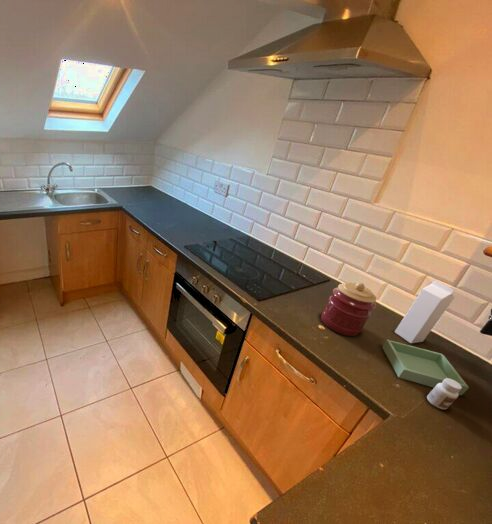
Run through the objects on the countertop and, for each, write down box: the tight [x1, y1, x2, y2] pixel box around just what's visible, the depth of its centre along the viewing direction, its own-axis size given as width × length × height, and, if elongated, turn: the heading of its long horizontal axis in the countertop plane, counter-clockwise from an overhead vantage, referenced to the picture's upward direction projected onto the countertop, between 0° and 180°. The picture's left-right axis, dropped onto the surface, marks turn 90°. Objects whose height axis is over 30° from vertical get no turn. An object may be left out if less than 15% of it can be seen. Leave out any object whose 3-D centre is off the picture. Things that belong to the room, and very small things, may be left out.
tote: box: [381, 339, 470, 396], centre depth 91 cm, size 16×14×3 cm
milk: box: [394, 279, 455, 344], centre depth 101 cm, size 6×6×22 cm
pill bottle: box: [426, 378, 462, 410], centre depth 79 cm, size 4×4×8 cm
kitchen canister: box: [320, 282, 377, 337], centre depth 104 cm, size 13×13×18 cm
